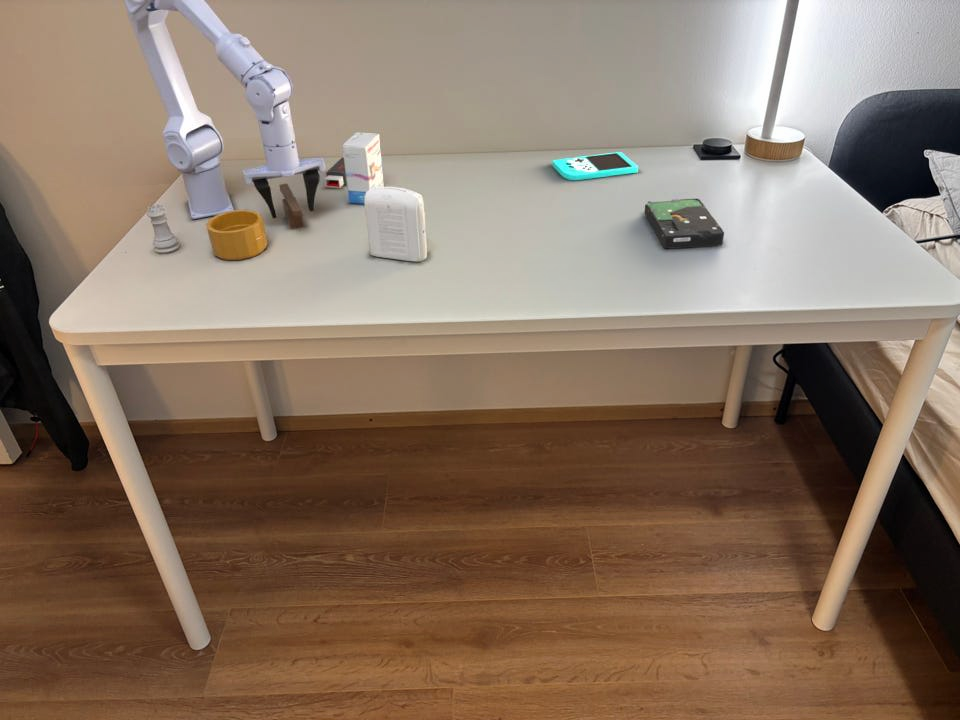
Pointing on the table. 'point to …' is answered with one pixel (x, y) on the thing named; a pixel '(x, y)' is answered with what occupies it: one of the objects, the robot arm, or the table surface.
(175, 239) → the rook chess piece
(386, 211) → the photo printer
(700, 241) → the disk drive
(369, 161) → the ink box
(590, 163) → the handheld game console
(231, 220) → the bowl
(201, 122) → the robot arm
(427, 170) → the table surface
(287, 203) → the tall wooden post
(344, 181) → the usb drive
